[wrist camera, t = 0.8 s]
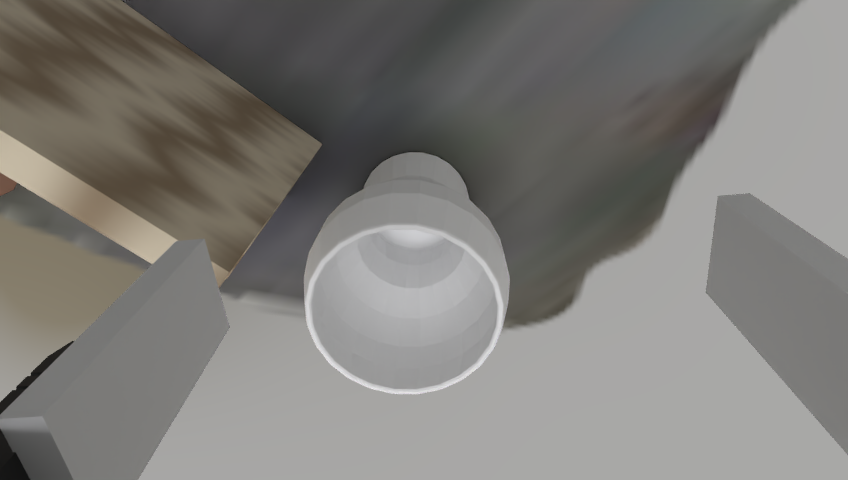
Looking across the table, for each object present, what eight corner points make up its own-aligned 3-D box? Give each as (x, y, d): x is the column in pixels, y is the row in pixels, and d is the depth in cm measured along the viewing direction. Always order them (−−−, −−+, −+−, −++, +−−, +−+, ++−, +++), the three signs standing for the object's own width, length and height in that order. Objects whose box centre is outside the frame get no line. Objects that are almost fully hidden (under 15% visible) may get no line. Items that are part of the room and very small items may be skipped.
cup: (501, 141, 38) (537, 228, 25) (475, 277, 43) (494, 415, 29) (347, 121, 38) (296, 197, 24) (336, 260, 42) (288, 391, 29)
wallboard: (-46, -29, 35) (-530, -43, 17) (-20, -101, 33) (-525, -196, 16) (286, 196, 40) (172, 354, 23) (322, 144, 39) (229, 272, 21)
